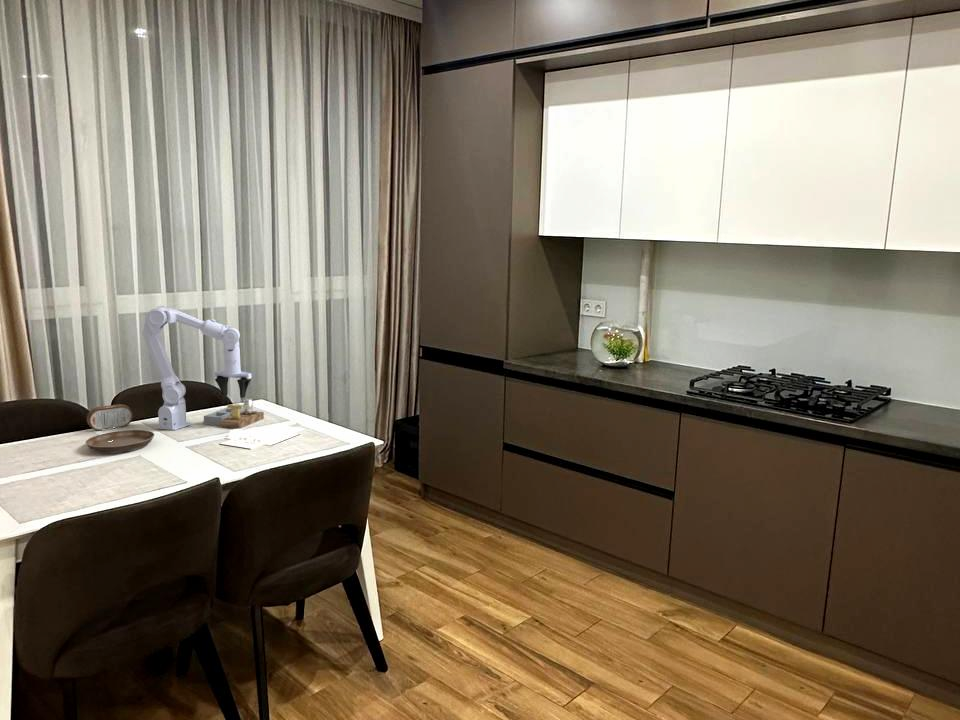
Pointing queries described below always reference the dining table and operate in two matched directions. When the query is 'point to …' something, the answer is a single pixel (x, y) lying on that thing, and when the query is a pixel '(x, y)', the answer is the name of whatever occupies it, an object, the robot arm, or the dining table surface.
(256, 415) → the drill block
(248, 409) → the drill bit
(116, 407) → the tin
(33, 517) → the dining table surface
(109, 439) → the plant saucer
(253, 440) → the white book
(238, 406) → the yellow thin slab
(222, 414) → the rack
